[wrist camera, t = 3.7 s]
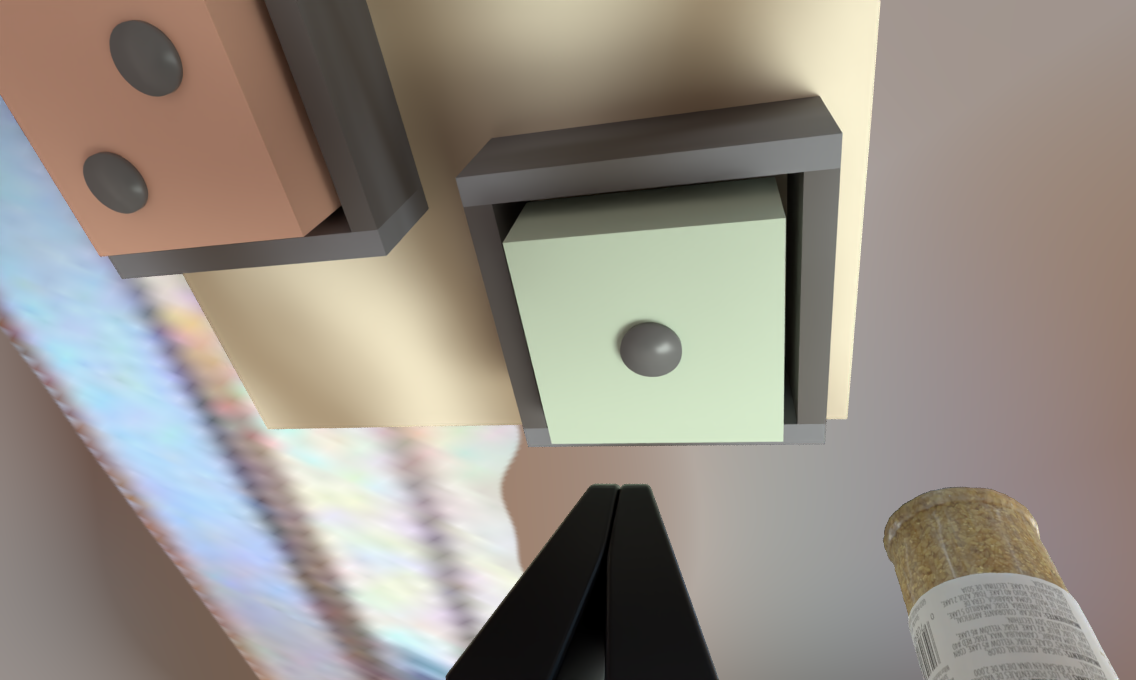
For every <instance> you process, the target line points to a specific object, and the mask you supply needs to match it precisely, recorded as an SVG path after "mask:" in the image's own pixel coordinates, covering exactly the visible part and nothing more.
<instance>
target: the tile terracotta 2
mask: <svg viewBox="0 0 1136 680" xmlns="http://www.w3.org/2000/svg"><path fill="white" fill-rule="evenodd" d="M0 95H1V97H2V98H3V100H4V101H5V103H6V105H7V106H8V108H9V110H10V111H11V113H12V114H13V116H14V118H15V119H16V121H17V123H18V124H19V126H20V127H21V129H22V131H23V132H24V134H25V136H26V137H27V139H28V140H29V142H30V144H31V145H32V147H33V149H34V150H35V152H36V153H37V155H38V157H39V158H40V160H41V162H42V163H43V165H44V166H45V168H46V170H47V171H48V173H49V175H50V176H51V178H52V179H53V181H54V183H55V184H56V186H57V188H58V189H59V191H60V192H61V194H62V196H63V197H64V199H65V201H66V202H67V204H68V205H69V207H70V209H71V210H72V212H73V213H74V215H75V217H76V218H77V220H78V222H79V223H80V225H81V226H82V228H83V230H84V231H85V233H86V235H87V236H88V238H89V239H90V241H91V243H92V244H93V246H94V248H95V249H96V251H97V252H98V254H99V256H100V257H102V256H112V255H122V254H132V253H143V252H153V251H163V250H173V249H183V248H194V247H204V246H214V245H224V244H234V243H245V242H255V241H265V240H275V239H285V238H296V237H304V236H305V235H306V234H308V233H309V232H310V231H311V230H312V229H314V228H315V227H316V226H317V225H318V224H320V223H321V222H322V221H323V220H324V219H326V218H327V217H328V216H329V215H330V214H332V213H333V212H334V211H335V210H336V209H338V208H339V207H340V206H341V202H340V200H339V197H338V194H337V192H336V189H335V187H334V184H333V181H332V179H331V176H330V173H329V171H328V168H327V165H326V163H325V160H324V157H323V155H322V152H321V149H320V147H319V144H318V141H317V139H316V136H315V134H314V131H313V128H312V126H311V123H310V120H309V118H308V115H307V112H306V110H305V107H304V104H303V102H302V99H301V96H300V94H299V91H298V88H297V86H296V83H295V81H294V78H293V75H292V73H291V70H290V67H289V65H288V62H287V59H286V57H285V54H284V51H283V49H282V46H281V43H280V41H279V38H278V35H277V33H276V30H275V28H274V25H273V22H272V20H271V17H270V14H269V12H268V9H267V6H266V4H265V1H264V0H0Z"/></svg>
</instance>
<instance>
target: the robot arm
mask: <svg viewBox="0 0 1136 680" xmlns="http://www.w3.org/2000/svg"><path fill="white" fill-rule="evenodd" d="M446 680H719V678H718V676H717V673H716V670H715V667H714V664H713V661H712V659H711V656H710V653H709V650H708V647H707V644H706V642H705V639H704V636H703V633H702V630H701V628H700V625H699V622H698V619H697V616H696V613H695V611H694V608H693V605H692V602H691V600H690V597H689V594H688V591H687V588H686V585H685V582H684V580H683V577H682V574H681V571H680V568H679V565H678V563H677V560H676V557H675V554H674V551H673V549H672V546H671V543H670V540H669V538H668V534H667V532H666V529H665V526H664V523H663V521H662V518H661V515H660V512H659V509H658V506H657V503H656V501H655V498H654V495H653V492H652V490H651V487H650V486H649V485H647V484H624V485H622V487H621V488H620V486H619V485H617V484H593V485H591V486H590V487H589V488H588V489H587V491H586V492H585V493H584V495H583V496H582V497H581V498H580V500H579V501H578V502H577V504H576V505H575V506H574V508H573V509H572V510H571V512H570V513H569V514H568V516H567V517H566V518H565V519H564V521H563V522H562V523H561V525H560V526H559V527H558V529H557V530H556V531H555V533H554V534H553V535H552V537H551V538H550V539H549V541H548V542H547V543H546V544H545V546H544V547H543V548H542V550H541V551H540V552H539V554H538V555H537V556H536V558H535V559H534V560H533V562H532V563H531V564H530V566H529V567H528V568H527V569H526V571H525V572H524V573H523V575H522V576H521V577H520V579H519V580H518V581H517V583H516V584H515V585H514V587H513V588H512V589H511V591H510V592H509V593H508V594H507V596H506V597H505V598H504V600H503V601H502V602H501V604H500V605H499V606H498V608H497V609H496V610H495V612H494V613H493V614H492V616H491V617H490V618H489V619H488V621H487V622H486V623H485V625H484V626H483V627H482V629H481V630H480V631H479V633H478V634H477V635H476V637H475V638H474V639H473V641H472V642H471V643H470V645H469V646H468V647H467V648H466V650H465V651H464V652H463V654H462V655H461V656H460V658H459V659H458V660H457V662H456V663H455V664H454V666H453V667H452V668H451V669H450V671H449V672H448V673H447V675H446Z"/></svg>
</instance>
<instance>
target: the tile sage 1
mask: <svg viewBox="0 0 1136 680" xmlns="http://www.w3.org/2000/svg"><path fill="white" fill-rule="evenodd" d="M503 246H504V250H505V254H506V259H507V263H508V267H509V271H510V275H511V279H512V283H513V287H514V291H515V295H516V299H517V304H518V308H519V312H520V316H521V320H522V324H523V328H524V332H525V336H526V340H527V344H528V348H529V353H530V357H531V361H532V365H533V369H534V373H535V377H536V381H537V385H538V389H539V393H540V398H541V402H542V406H543V410H544V414H545V418H546V422H547V426H548V430H549V434H550V438H551V443H552V444H602V443H702V442H783V430H784V339H785V247H786V217H785V213H784V209H783V206H782V202H781V198H780V194H779V191H778V187H777V183H776V179H775V177H767V178H757V179H747V180H737V181H728V182H718V183H708V184H699V185H689V186H679V187H669V188H660V189H650V190H640V191H631V192H621V193H611V194H601V195H592V196H582V197H572V198H562V199H553V200H543V201H533V202H527V203H526V204H525V206H524V208H523V209H522V211H521V213H520V214H519V216H518V218H517V220H516V221H515V223H514V225H513V226H512V228H511V230H510V231H509V233H508V235H507V236H506V238H505V240H504V242H503Z"/></svg>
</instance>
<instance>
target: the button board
mask: <svg viewBox="0 0 1136 680" xmlns="http://www.w3.org/2000/svg"><path fill="white" fill-rule="evenodd" d="M264 1H265V4H266V6H267V9H268V12H269V14H270V17H271V20H272V22H273V25H274V28H275V30H276V33H277V35H278V38H279V41H280V43H281V46H282V49H283V51H284V54H285V57H286V59H287V62H288V65H289V67H290V70H291V73H292V75H293V78H294V81H295V83H296V86H297V88H298V91H299V94H300V96H301V99H302V102H303V104H304V107H305V110H306V112H307V115H308V118H309V120H310V123H311V126H312V128H313V131H314V134H315V136H316V139H317V141H318V144H319V147H320V149H321V152H322V155H323V157H324V160H325V163H326V165H327V168H328V171H329V173H330V176H331V179H332V181H333V184H334V187H335V189H336V192H337V194H338V197H339V200H340V202H341V206H340V207H339V208H338V209H336V210H335V211H334V212H333V213H332V214H330V215H329V216H328V217H327V218H326V219H324V220H323V221H322V222H321V223H320V224H318V225H317V226H316V227H315V228H314V229H312V230H311V231H310V232H309V233H308V234H306V235H305V236H304V237H296V238H285V239H275V240H265V241H255V242H245V243H234V244H224V245H214V246H204V247H194V248H183V249H173V250H163V251H153V252H143V253H132V254H122V255H112V256H108V257H109V259H110V260H111V262H112V263H113V265H114V267H115V268H116V270H117V272H118V273H119V275H120V277H121V278H122V279H127V278H138V277H150V276H161V275H173V274H183V276H184V277H185V279H186V281H187V283H188V285H189V286H190V288H191V290H192V292H193V294H194V296H195V297H196V299H197V301H198V303H199V305H200V306H201V308H202V310H203V312H204V314H205V316H206V317H207V319H208V321H209V323H210V325H211V327H212V328H213V330H214V332H215V334H216V336H217V337H218V339H219V341H220V343H221V345H222V347H223V348H224V350H225V352H226V354H227V356H228V357H229V359H230V361H231V363H232V365H233V367H234V368H235V370H236V372H237V374H238V376H239V378H240V379H241V381H242V383H243V385H244V387H245V388H246V390H247V392H248V394H249V396H250V398H251V399H252V401H253V403H254V405H255V407H256V408H257V410H258V412H259V414H260V416H261V418H262V419H263V421H264V423H265V425H266V427H267V428H268V429H304V428H361V427H418V426H475V425H523V429H524V433H525V436H526V440H527V444H528V447H557V446H560V447H561V446H665V445H666V446H667V445H668V446H670V445H671V446H672V445H775V444H776V445H777V444H778V445H780V444H781V445H782V444H783V445H785V444H825V435H826V419H847V415H848V404H849V403H848V402H849V391H850V378H851V377H850V376H851V366H852V353H853V341H854V327H855V315H856V303H857V290H858V277H859V265H860V252H861V240H862V227H863V214H864V201H865V189H866V177H867V164H868V151H869V139H870V126H871V114H872V101H873V88H874V76H875V63H876V51H877V37H878V24H879V12H880V0H264ZM767 177H775V179H776V183H777V187H778V191H779V194H780V198H781V202H782V206H783V209H784V213H785V217H786V247H785V339H784V430H783V442H702V443H602V444H552V443H551V438H550V434H549V430H548V426H547V422H546V418H545V414H544V410H543V406H542V402H541V398H540V393H539V389H538V385H537V381H536V377H535V373H534V369H533V365H532V361H531V357H530V353H529V348H528V344H527V340H526V336H525V332H524V328H523V324H522V320H521V316H520V312H519V308H518V304H517V299H516V295H515V291H514V287H513V283H512V279H511V275H510V271H509V267H508V263H507V259H506V254H505V250H504V246H503V242H504V240H505V238H506V236H507V235H508V233H509V231H510V230H511V228H512V226H513V225H514V223H515V221H516V220H517V218H518V216H519V214H520V213H521V211H522V209H523V208H524V206H525V204H526V203H527V202H533V201H543V200H553V199H562V198H572V197H582V196H592V195H601V194H611V193H621V192H631V191H640V190H650V189H660V188H669V187H679V186H689V185H699V184H708V183H718V182H728V181H737V180H747V179H757V178H767Z"/></svg>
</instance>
